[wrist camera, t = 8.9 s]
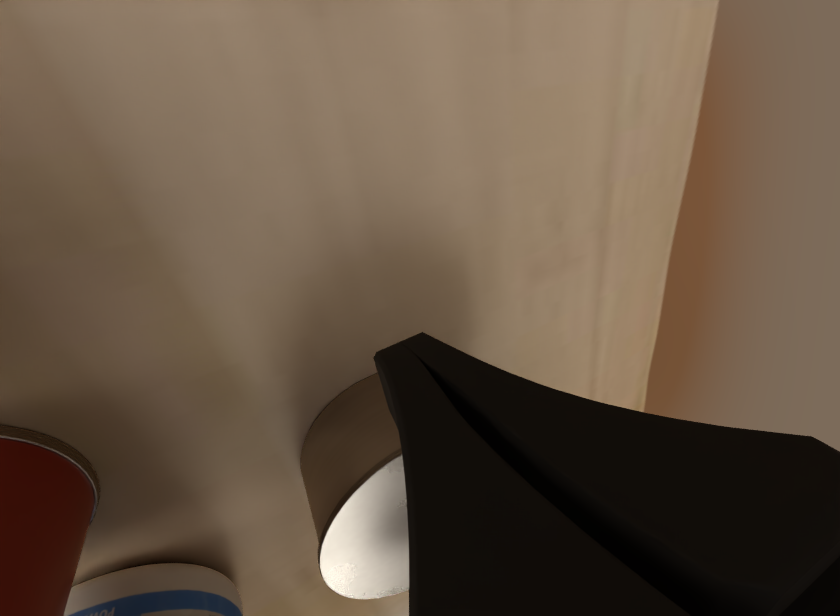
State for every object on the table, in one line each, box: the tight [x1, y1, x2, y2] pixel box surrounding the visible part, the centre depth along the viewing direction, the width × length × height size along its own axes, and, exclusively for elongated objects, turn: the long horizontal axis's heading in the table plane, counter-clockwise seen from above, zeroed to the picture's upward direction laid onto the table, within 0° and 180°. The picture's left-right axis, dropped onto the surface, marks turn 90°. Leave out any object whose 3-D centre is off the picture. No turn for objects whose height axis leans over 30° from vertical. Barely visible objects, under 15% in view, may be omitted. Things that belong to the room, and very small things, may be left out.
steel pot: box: [300, 374, 409, 599], centre depth 18 cm, size 9×9×5 cm
